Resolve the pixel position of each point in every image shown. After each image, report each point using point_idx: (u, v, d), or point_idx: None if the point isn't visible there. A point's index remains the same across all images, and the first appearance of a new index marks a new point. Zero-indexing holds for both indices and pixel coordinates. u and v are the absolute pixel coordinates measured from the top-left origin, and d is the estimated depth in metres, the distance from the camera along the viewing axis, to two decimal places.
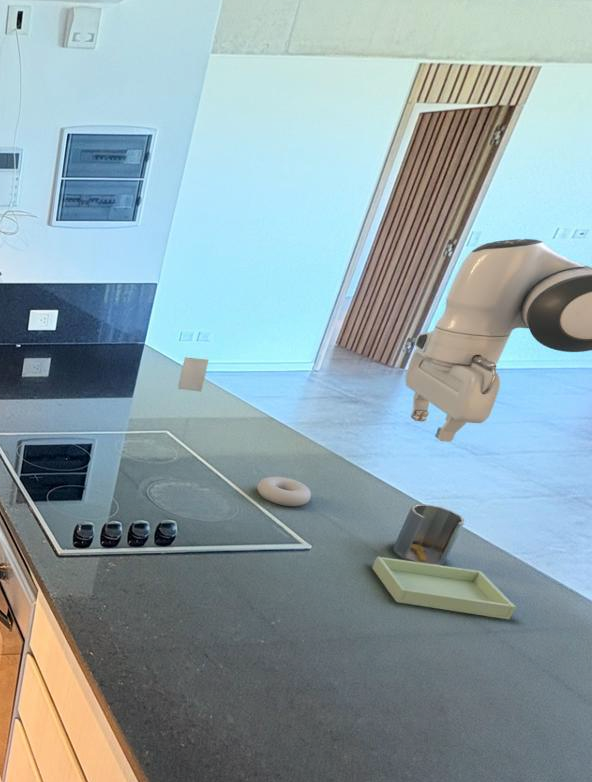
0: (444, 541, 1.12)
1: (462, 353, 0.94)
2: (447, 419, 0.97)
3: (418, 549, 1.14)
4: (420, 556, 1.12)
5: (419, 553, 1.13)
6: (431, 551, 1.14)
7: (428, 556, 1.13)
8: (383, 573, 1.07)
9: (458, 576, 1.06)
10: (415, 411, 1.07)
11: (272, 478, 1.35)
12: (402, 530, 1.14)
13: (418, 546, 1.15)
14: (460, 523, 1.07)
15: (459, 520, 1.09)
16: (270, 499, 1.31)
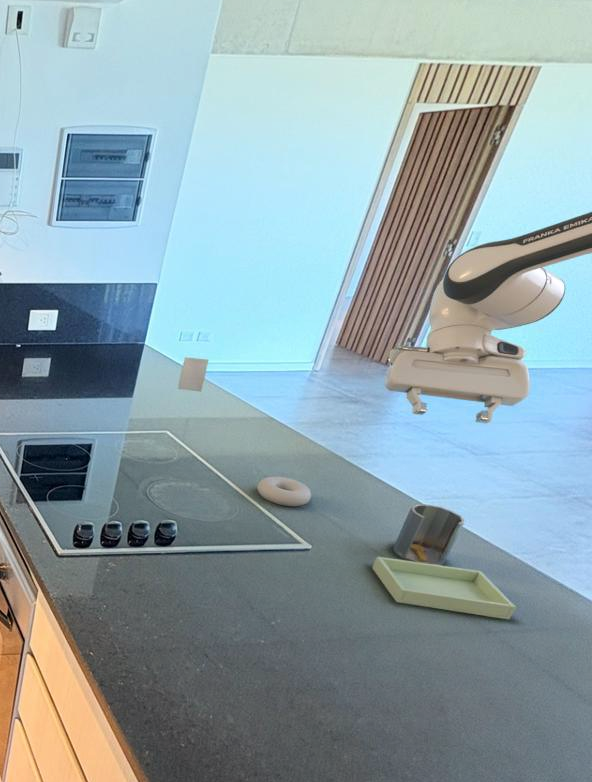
0: (444, 541, 1.12)
1: None
2: None
3: (418, 549, 1.14)
4: (420, 556, 1.12)
5: (419, 553, 1.13)
6: (431, 551, 1.14)
7: (428, 556, 1.13)
8: (383, 573, 1.07)
9: (458, 576, 1.06)
10: None
11: (272, 478, 1.35)
12: (402, 530, 1.14)
13: (418, 546, 1.15)
14: (460, 523, 1.07)
15: (459, 520, 1.09)
16: (270, 499, 1.31)
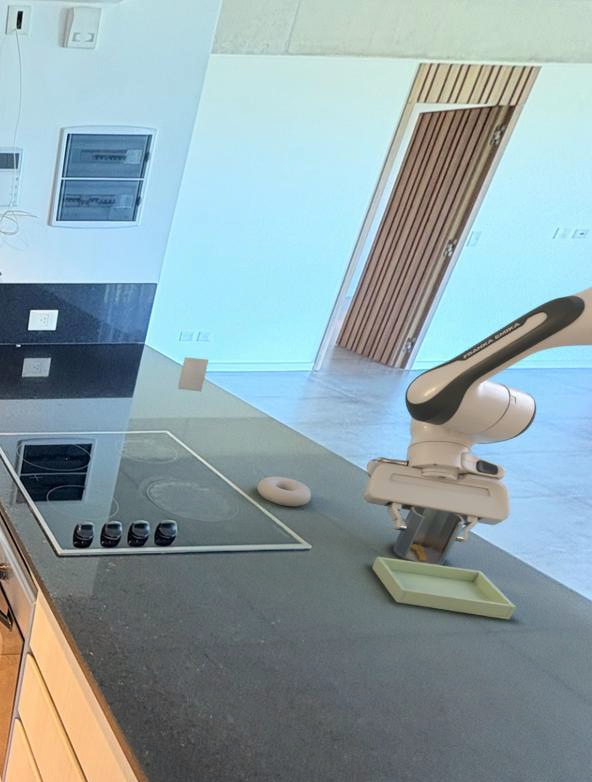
0: (444, 541, 1.12)
1: None
2: None
3: (418, 549, 1.14)
4: (420, 556, 1.12)
5: (419, 553, 1.13)
6: (431, 551, 1.14)
7: (427, 556, 1.13)
8: (383, 573, 1.07)
9: (458, 576, 1.06)
10: None
11: (272, 478, 1.35)
12: None
13: (418, 546, 1.15)
14: (460, 523, 1.07)
15: (459, 520, 1.09)
16: (270, 499, 1.31)
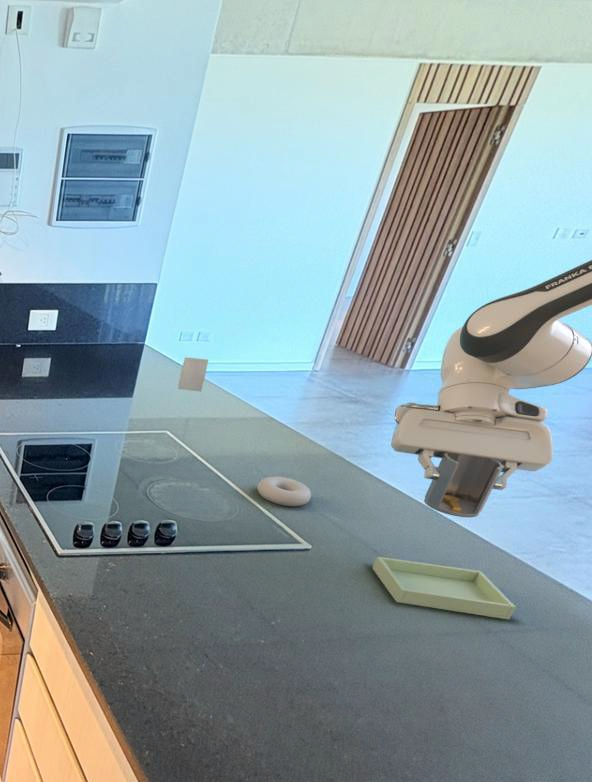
0: (480, 490, 1.04)
1: None
2: None
3: (451, 500, 1.06)
4: (454, 506, 1.04)
5: (453, 503, 1.05)
6: (465, 502, 1.06)
7: (462, 507, 1.05)
8: (383, 573, 1.07)
9: (458, 576, 1.06)
10: None
11: (272, 478, 1.35)
12: None
13: (451, 497, 1.07)
14: (499, 468, 0.99)
15: (497, 465, 1.01)
16: (270, 499, 1.31)
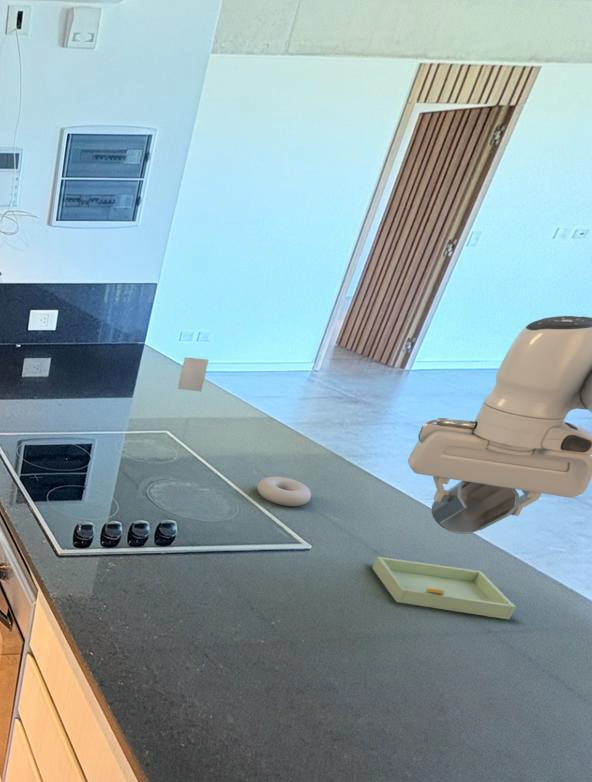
0: (494, 504, 0.98)
1: (476, 418, 0.95)
2: None
3: None
4: None
5: None
6: (478, 504, 1.02)
7: (469, 517, 1.01)
8: (383, 573, 1.07)
9: (458, 576, 1.06)
10: None
11: (272, 478, 1.35)
12: None
13: (435, 592, 1.00)
14: (510, 512, 0.93)
15: (513, 501, 0.94)
16: (270, 499, 1.31)
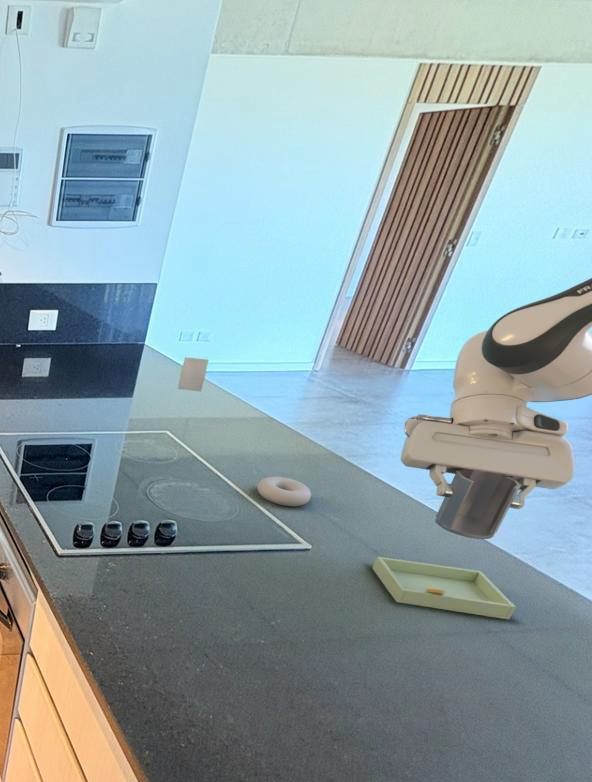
0: (495, 510, 0.98)
1: None
2: None
3: None
4: None
5: None
6: (479, 522, 1.00)
7: (476, 527, 0.98)
8: (383, 573, 1.07)
9: (458, 576, 1.06)
10: None
11: (272, 478, 1.35)
12: (446, 498, 0.99)
13: (435, 592, 1.00)
14: (516, 487, 0.93)
15: (514, 484, 0.94)
16: (270, 499, 1.31)
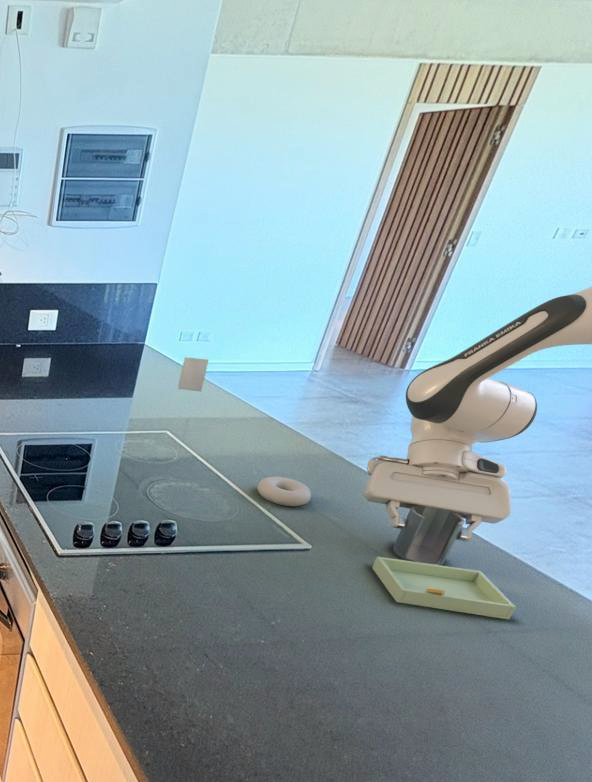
0: (444, 541, 1.12)
1: None
2: None
3: None
4: None
5: None
6: (431, 551, 1.14)
7: (427, 556, 1.13)
8: (383, 573, 1.07)
9: (458, 576, 1.06)
10: None
11: (272, 478, 1.35)
12: (402, 530, 1.14)
13: (435, 592, 1.00)
14: (460, 523, 1.07)
15: (459, 520, 1.09)
16: (270, 499, 1.31)
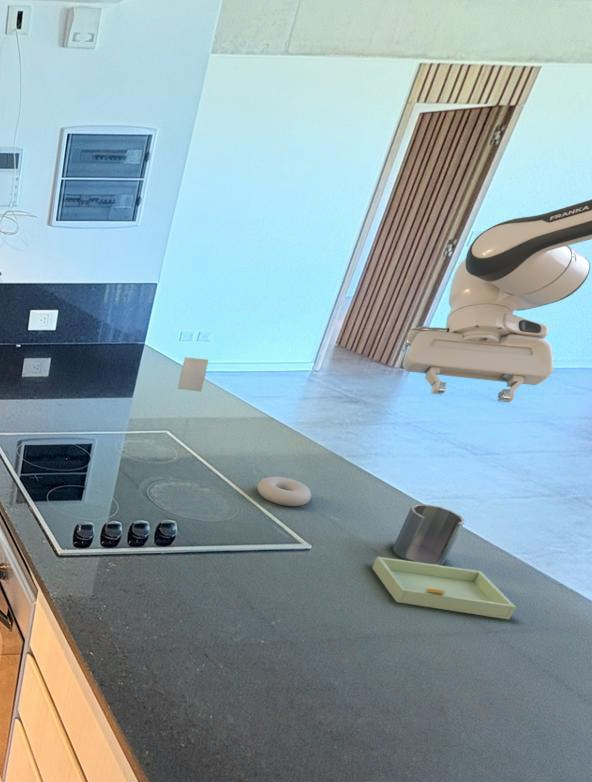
0: (444, 541, 1.12)
1: None
2: None
3: None
4: None
5: None
6: (431, 551, 1.14)
7: (427, 556, 1.13)
8: (383, 573, 1.07)
9: (458, 576, 1.06)
10: None
11: (272, 478, 1.35)
12: (402, 530, 1.14)
13: (435, 592, 1.00)
14: (460, 523, 1.07)
15: (459, 520, 1.09)
16: (270, 499, 1.31)
